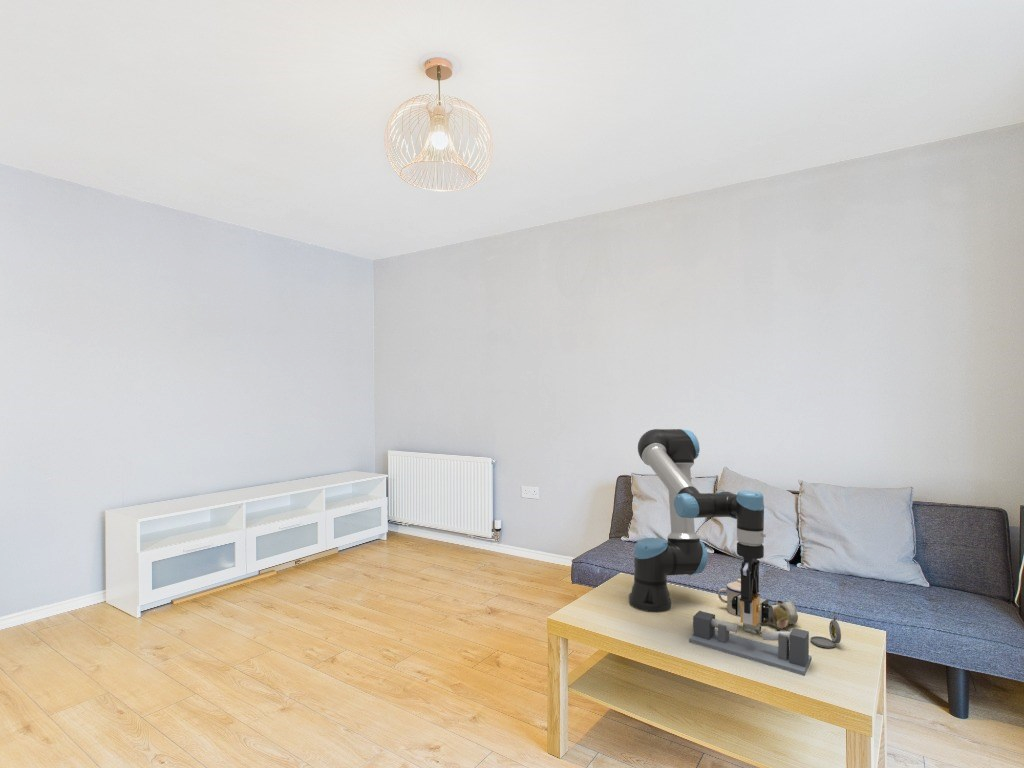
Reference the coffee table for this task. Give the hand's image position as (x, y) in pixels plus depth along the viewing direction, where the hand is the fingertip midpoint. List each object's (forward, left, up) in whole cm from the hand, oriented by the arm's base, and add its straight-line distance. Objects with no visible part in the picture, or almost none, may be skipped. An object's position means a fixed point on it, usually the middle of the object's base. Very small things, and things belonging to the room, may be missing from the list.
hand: (749, 620), depth 162 cm
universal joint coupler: (0, 0, 0) cm, 0 cm away
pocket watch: (+8, +26, -9) cm, 29 cm away
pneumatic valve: (-9, +13, -9) cm, 18 cm away
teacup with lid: (-23, +22, -9) cm, 33 cm away
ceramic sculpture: (-8, +25, -9) cm, 28 cm away
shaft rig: (0, 0, -9) cm, 9 cm away
